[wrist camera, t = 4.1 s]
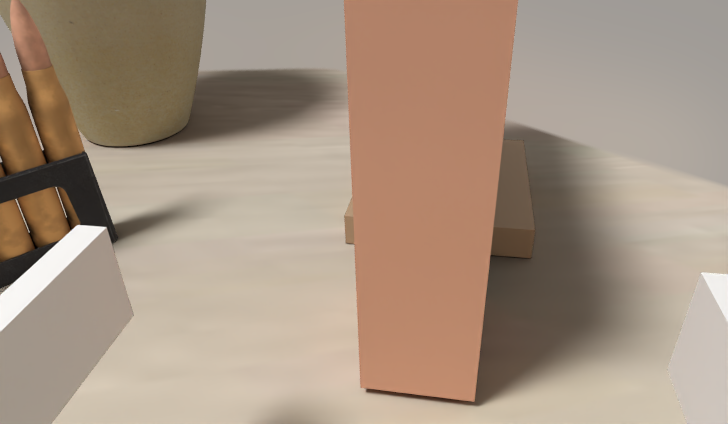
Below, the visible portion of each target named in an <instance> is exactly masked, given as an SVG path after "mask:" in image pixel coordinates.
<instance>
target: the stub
mask: <svg viewBox="0 0 728 424" xmlns="http://www.w3.org/2000/svg"><path fill="white" fill-rule="evenodd" d="M517 4H518V0H344V11H345V34H346V58H347V82H348V105H349V128H350V152H351V175H352V198H353V221H354V245H355V268H356V291H357V314H358V337H359V361H360V384H361V388H368V389H376V390H384V391H392V392H400V393H408V394H416V395H425V396H433V397H441V398H449V399H457V400H465V401H473V402H475V392H476V383H477V374H478V365H479V356H480V346H481V337H482V328H483V319H484V310H485V300H486V291H487V282H488V273H489V263H490V254H491V245H492V236H493V227H494V217H495V208H496V199H497V190H498V181H499V171H500V162H501V153H502V144H503V135H504V125H505V116H506V107H507V98H508V88H509V78H510V70H511V60H512V50H513V42H514V32H515V23H516V15H517Z"/></svg>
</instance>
